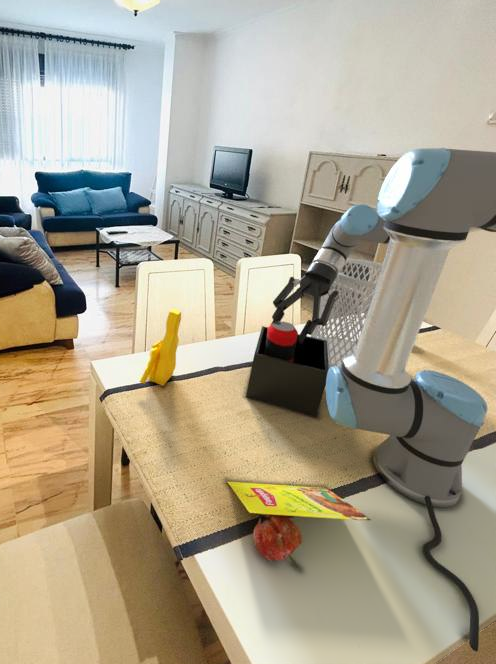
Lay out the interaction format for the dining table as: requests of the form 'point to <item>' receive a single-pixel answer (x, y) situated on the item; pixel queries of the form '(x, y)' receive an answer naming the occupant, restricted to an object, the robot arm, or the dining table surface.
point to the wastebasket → (341, 345)
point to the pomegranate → (276, 537)
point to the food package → (294, 501)
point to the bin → (290, 376)
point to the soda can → (281, 341)
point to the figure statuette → (164, 353)
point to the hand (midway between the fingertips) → (284, 336)
